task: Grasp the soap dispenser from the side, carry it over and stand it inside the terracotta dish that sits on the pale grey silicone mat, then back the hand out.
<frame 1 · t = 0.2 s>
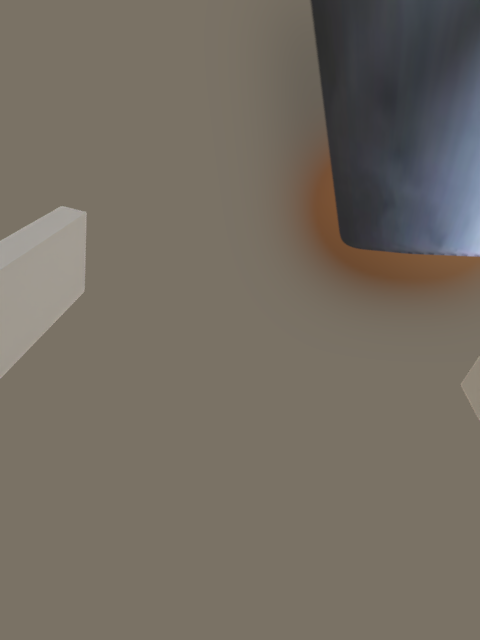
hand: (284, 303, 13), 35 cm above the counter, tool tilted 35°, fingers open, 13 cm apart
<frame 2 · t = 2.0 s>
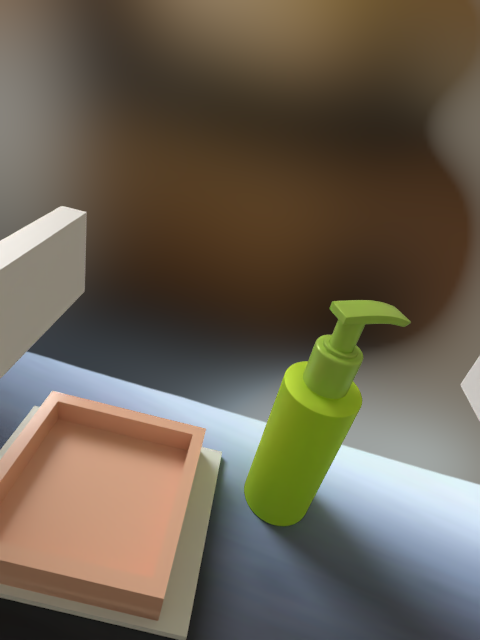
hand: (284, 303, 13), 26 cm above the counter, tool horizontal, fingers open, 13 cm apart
dish: (96, 499, 33), resting on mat
soap dispenser: (280, 495, 38), on the counter
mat: (95, 503, 33), on the counter
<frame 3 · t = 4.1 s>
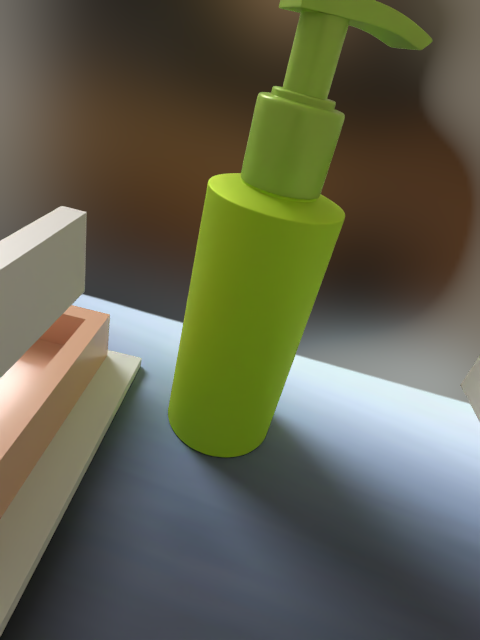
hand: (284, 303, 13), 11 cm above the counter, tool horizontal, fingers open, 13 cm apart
soap dispenser: (226, 418, 25), on the counter
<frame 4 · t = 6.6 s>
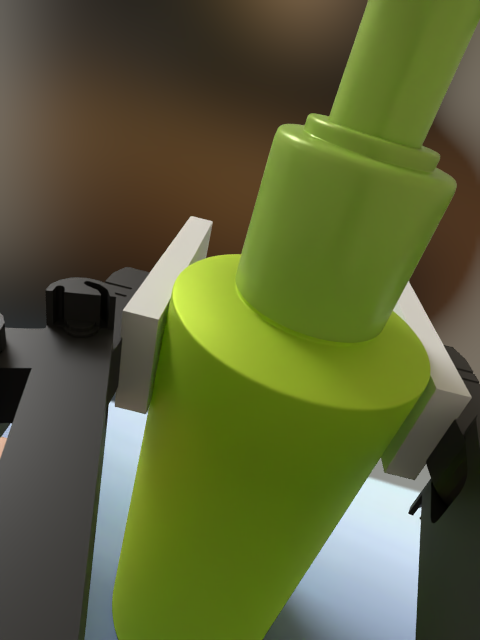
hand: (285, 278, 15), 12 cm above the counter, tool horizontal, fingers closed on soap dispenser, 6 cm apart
soap dispenser: (203, 594, 16), on the counter, touching gripper
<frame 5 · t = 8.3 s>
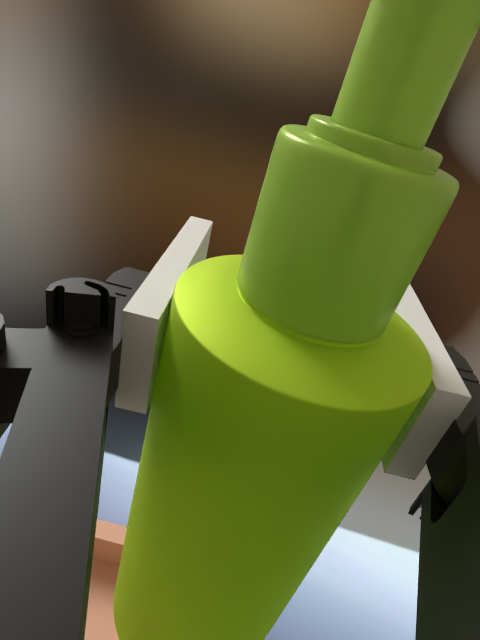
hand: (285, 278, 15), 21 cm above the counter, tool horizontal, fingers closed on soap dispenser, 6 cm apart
soap dispenser: (204, 594, 16), point 9 cm above the counter, touching gripper
when the fingers open (14 cm above the counter, at t = 10.3 s): soap dispenser drops 2 cm, resting on dish.
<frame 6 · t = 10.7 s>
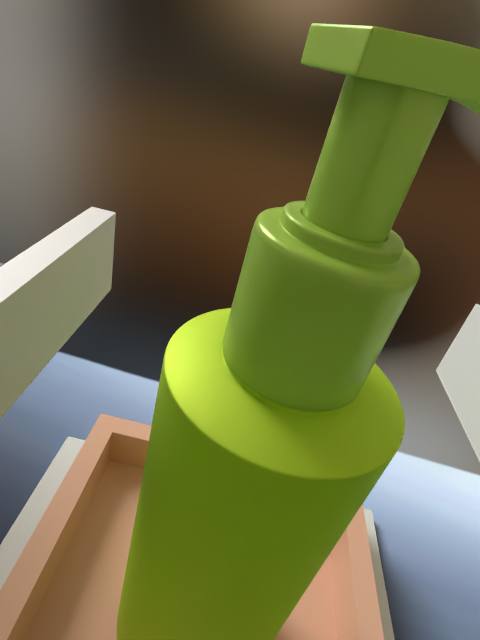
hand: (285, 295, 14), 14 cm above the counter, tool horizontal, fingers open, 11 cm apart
dish: (193, 619, 18), resting on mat
soap dispenser: (203, 616, 17), point 1 cm above the counter, touching dish
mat: (191, 626, 18), on the counter
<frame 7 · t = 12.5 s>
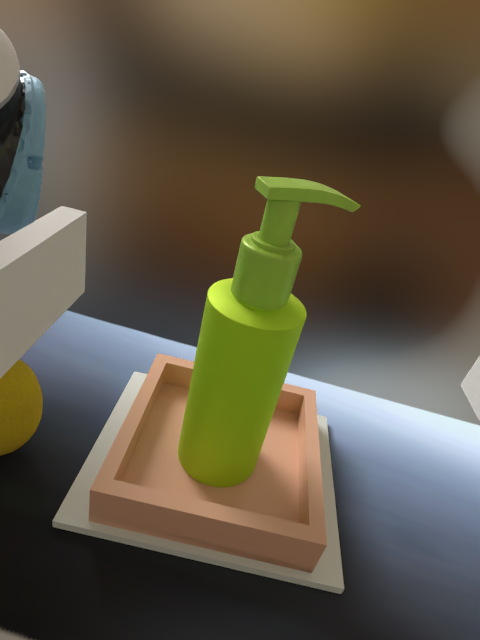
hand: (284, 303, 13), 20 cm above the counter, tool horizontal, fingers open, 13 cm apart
dish: (218, 458, 31), resting on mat
soap dispenser: (223, 454, 31), point 1 cm above the counter, touching dish
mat: (216, 463, 32), on the counter
lemon: (0, 450, 29), on the counter
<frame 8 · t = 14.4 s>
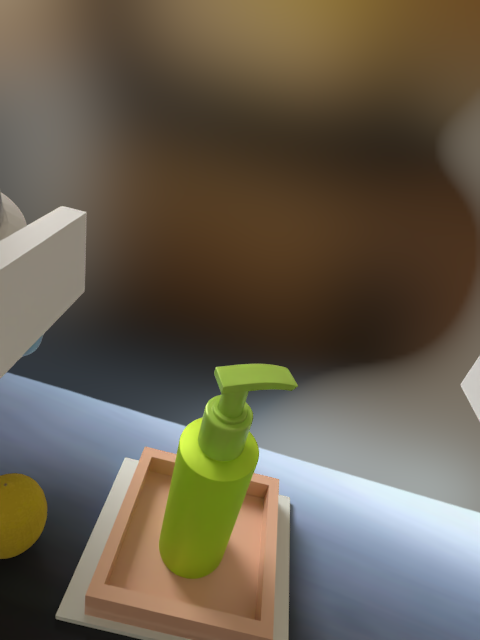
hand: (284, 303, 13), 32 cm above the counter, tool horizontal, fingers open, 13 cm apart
dish: (193, 546, 38), resting on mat
soap dispenser: (197, 544, 37), point 1 cm above the counter, touching dish
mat: (192, 549, 38), on the counter
lemon: (12, 544, 35), on the counter
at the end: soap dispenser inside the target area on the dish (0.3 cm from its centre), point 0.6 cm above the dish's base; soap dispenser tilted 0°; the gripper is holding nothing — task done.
